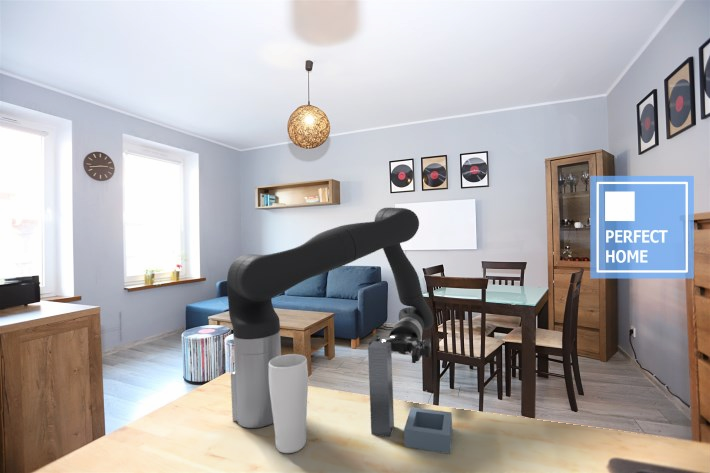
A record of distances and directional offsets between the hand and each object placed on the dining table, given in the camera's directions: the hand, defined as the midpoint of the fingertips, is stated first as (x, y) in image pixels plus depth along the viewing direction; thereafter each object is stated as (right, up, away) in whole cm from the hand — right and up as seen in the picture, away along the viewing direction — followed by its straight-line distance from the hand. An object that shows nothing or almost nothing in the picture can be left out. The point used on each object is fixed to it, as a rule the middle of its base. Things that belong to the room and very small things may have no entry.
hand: (393, 357), depth 74 cm
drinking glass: (-20, -11, -14) cm, 26 cm away
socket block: (+5, -10, -13) cm, 17 cm away
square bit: (-3, -10, -11) cm, 15 cm away
